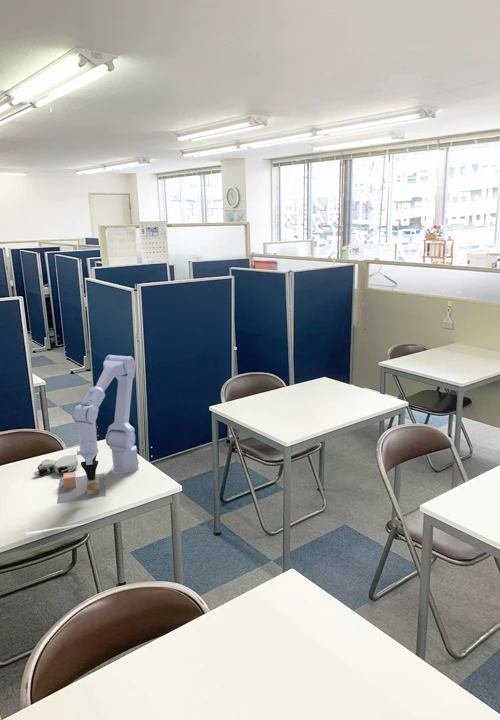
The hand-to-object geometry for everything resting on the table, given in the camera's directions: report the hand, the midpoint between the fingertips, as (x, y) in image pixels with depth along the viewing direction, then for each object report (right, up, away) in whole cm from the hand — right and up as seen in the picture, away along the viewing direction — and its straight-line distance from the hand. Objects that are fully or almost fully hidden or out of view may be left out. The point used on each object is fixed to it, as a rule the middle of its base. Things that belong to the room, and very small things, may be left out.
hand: (91, 475), depth 191 cm
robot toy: (-18, -3, +19) cm, 27 cm away
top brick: (0, -6, +2) cm, 6 cm away
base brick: (-9, -5, +6) cm, 12 cm away
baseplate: (-5, -6, +5) cm, 9 cm away
